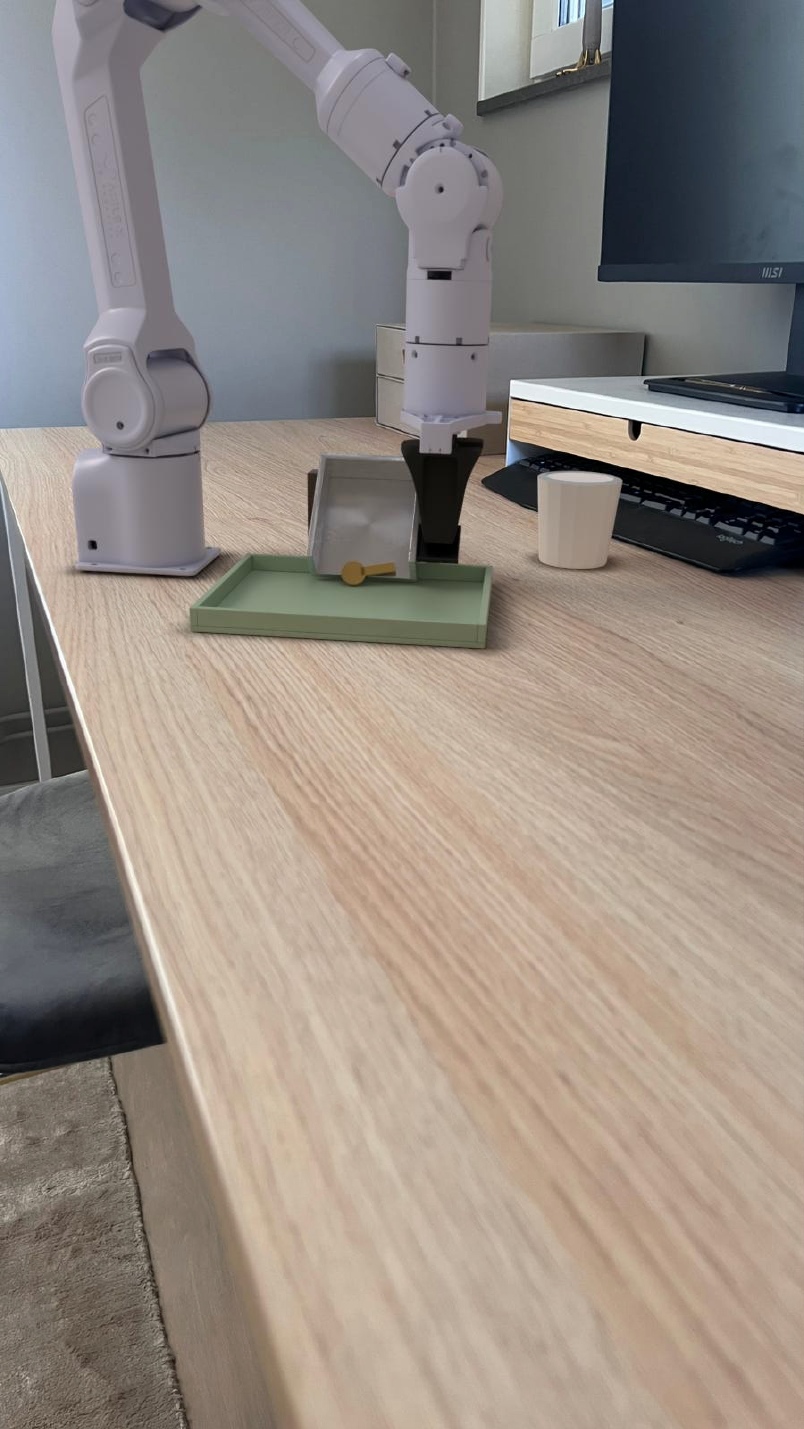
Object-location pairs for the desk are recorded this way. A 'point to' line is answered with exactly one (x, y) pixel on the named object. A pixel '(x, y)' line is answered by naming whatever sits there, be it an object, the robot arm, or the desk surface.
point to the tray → (348, 604)
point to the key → (363, 571)
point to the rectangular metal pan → (369, 518)
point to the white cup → (576, 518)
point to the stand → (312, 493)
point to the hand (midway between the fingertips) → (439, 541)
